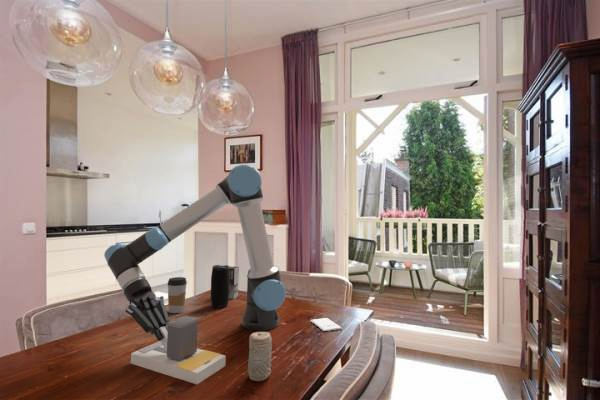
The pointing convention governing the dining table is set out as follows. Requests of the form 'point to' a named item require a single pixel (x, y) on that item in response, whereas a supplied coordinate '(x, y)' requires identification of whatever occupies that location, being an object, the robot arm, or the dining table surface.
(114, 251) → the robot arm
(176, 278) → the coffee cup
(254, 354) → the carving
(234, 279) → the coffee box
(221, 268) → the portable speaker
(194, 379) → the switch panel
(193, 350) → the switch tab
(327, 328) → the external hard drive
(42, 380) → the dining table surface
